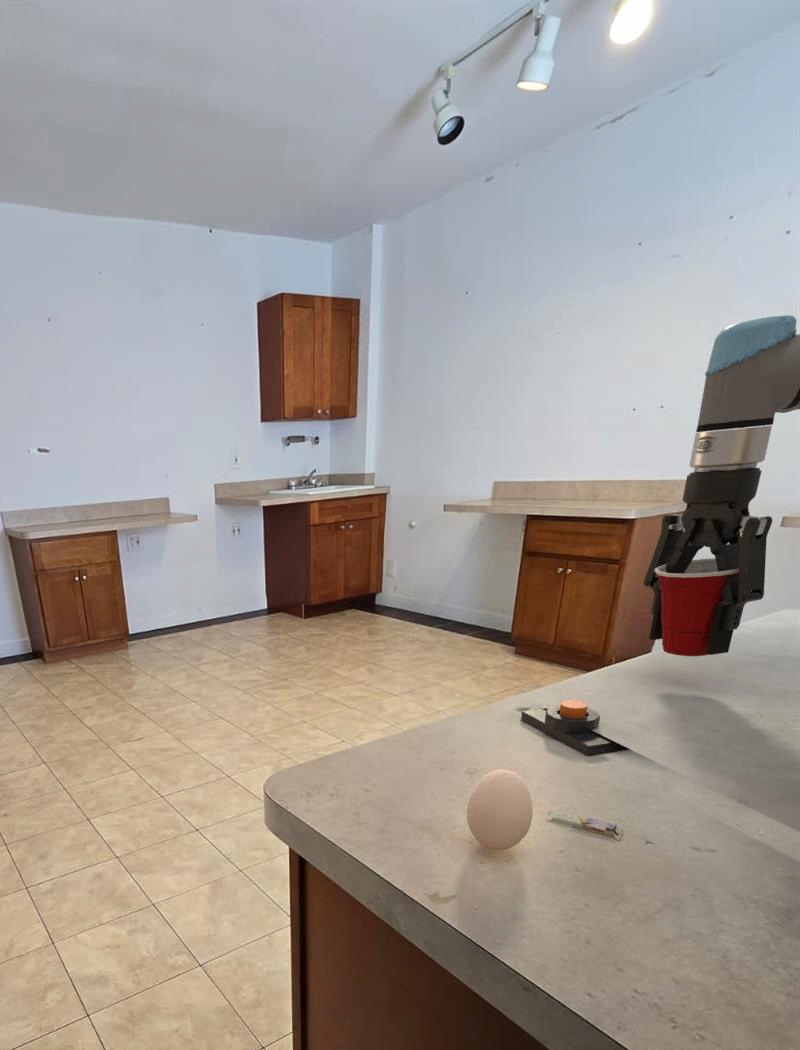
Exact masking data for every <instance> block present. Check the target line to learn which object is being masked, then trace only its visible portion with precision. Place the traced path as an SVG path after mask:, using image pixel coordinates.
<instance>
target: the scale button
mask: <svg viewBox="0 0 800 1050" xmlns="http://www.w3.org/2000/svg"><path fill="white" fill-rule="evenodd" d="M559 706H560V712H559V715H561V716H563V717H568V718H585V717H586V713H587V708H589V706H588V704H587V703H586V702H584V701H580V700H564V701H561V702H560V705H559Z"/></svg>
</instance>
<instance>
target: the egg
mask: <svg viewBox="0 0 800 1050" xmlns="http://www.w3.org/2000/svg"><path fill="white" fill-rule="evenodd" d="M533 810H534V809H533V800H532V798H531V794H530V791H529V788H528V787H527V785H526V783H525V782H524V780H523V778H521V777H520V776H519V775H518V774H516V773H515V772H513V771H512V770H509V769H504V768H503V769H495V770H492V771H490V772H488V773H487V774H485V775H484V776H483V777H482V778H481V779H480V780H479V781H478V782H477V784H476V786H474V788H473V790H472V791H471V794H470V796H469V798H468V803H467V808H466V821H467V826H468V829H469V831H470V833H471V834H472V837H473V838H474V839H475V840H476V842H478V843H479V845H481V846H482V847H484V848H486V849H488V850H490V851H491V850H492V851H495V852H497V851H500V852H501V851H506V850H510V849H512V848H513V847H515V846H516V845H518V844H519V843H521V841H522V840H523V839H524V838H525V837H526V836H527V834H528V833H529V831H530V828H531V825H532V821H533V814H534V813H533Z"/></svg>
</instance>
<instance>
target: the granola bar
mask: <svg viewBox="0 0 800 1050" xmlns="http://www.w3.org/2000/svg"><path fill="white" fill-rule="evenodd" d="M547 814H548V816H549V817H548V818H545V819H544V821H545V822H554V823H558V824H562V825H565V826H569V827H571V828H572V829H577V830H580V831H584V832H588V833H592V834H596V835H601V836H604V837H609V838H613V839H614V840H615V841H621V840H622V839H621V838H622V835H623V834H624V832H625V829H623V828H621V827H618V826H617V824H614V823H610V822H606V821H602V820H599V819H594V818H589V817H587V816H586V817H585V816H582V815H577V814H574V813H569V812H564V811H560V810H558V811H551V810H550V811H548V813H547Z"/></svg>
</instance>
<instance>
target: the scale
mask: <svg viewBox="0 0 800 1050" xmlns="http://www.w3.org/2000/svg"><path fill="white" fill-rule="evenodd" d="M560 706H561V705H555V706H551V707H549V708H546V707H544V708H537V709H530V710H522V711H521V716H520V717H521V718H520V721H521V722H523V723H525V724H527V725H528V726H531V727H532V728H534V729H536V730H537V731H540V732H542V733H543V734H545V735H547V736H549V737H550V738H552V739H554V740H556V741H558V742H560V743H561V744H564V745H565V746H567V747H569V748H570V749H572V750H574V751H577V752H578V753H580V754H582V755H584V756H586V757H593V756H599V755H606V754H612V753H617V752H619V753H620V752H624V751H631V750H632V749H631V748H629V747H627V746H624V745H623V744H620V743H619V742H616V741H614V740H612V739H611V738H608V737H606V736H604V735H603V734H600V733H598V732H596V731H595V730H596V729H597V728H598V727H599V724H600V720H601V715H600V713H599V712H598V711H596V710H594V709H592V708H589V707H587V713H586V717H585V718H568V717H563V716H561V715H559V712H560Z"/></svg>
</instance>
